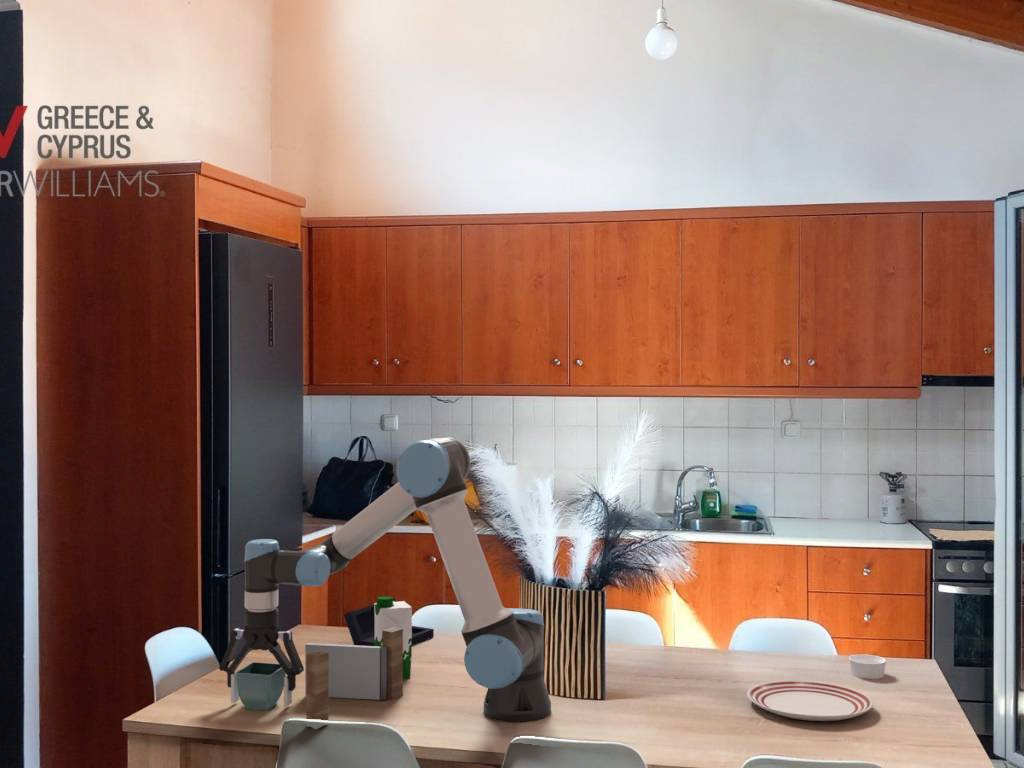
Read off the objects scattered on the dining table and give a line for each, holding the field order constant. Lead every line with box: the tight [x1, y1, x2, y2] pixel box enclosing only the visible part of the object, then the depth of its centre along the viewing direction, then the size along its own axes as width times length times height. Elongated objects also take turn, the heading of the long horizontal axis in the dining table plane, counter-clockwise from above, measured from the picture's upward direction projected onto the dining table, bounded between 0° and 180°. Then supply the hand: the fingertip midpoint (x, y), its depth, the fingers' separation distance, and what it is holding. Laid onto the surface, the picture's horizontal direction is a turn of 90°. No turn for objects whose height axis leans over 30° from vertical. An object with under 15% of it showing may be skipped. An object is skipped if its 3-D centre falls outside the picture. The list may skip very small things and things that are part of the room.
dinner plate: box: [746, 679, 874, 722], centre depth 227 cm, size 28×27×3 cm
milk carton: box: [373, 595, 413, 680], centre depth 251 cm, size 9×9×20 cm
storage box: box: [343, 597, 435, 646], centre depth 285 cm, size 21×16×10 cm
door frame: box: [305, 627, 404, 720], centre depth 224 cm, size 3×28×16 cm, turn 146°
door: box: [304, 642, 388, 701], centre depth 234 cm, size 20×3×12 cm, turn 81°
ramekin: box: [848, 653, 887, 680], centre depth 253 cm, size 9×9×4 cm
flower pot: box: [235, 661, 287, 711], centre depth 227 cm, size 9×9×9 cm
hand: (261, 703), depth 227 cm, fingers open, 12 cm apart
